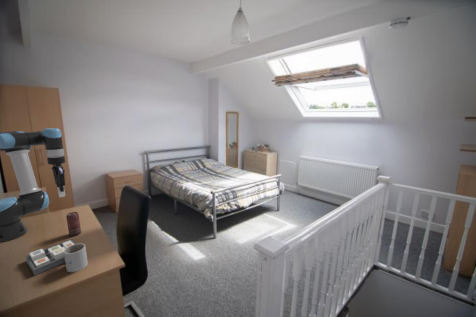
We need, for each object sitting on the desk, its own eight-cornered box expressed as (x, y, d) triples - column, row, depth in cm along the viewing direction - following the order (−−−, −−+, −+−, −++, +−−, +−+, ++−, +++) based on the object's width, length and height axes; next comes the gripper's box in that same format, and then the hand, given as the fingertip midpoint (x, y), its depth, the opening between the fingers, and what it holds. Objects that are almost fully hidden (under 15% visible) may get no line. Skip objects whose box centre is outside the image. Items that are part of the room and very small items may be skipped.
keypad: (26, 261, 113) (24, 255, 112) (72, 243, 129) (71, 238, 128) (34, 275, 103) (33, 269, 102) (83, 254, 119) (82, 249, 118)
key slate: (30, 258, 112) (29, 252, 112) (43, 253, 116) (42, 248, 116) (32, 261, 109) (31, 256, 109) (45, 256, 113) (44, 251, 113)
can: (75, 237, 135) (72, 216, 132) (66, 236, 137) (63, 215, 134) (83, 232, 141) (81, 212, 138) (75, 231, 142) (72, 211, 140)
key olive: (48, 253, 118) (47, 248, 118) (60, 249, 122) (59, 244, 122) (51, 257, 115) (50, 252, 115) (63, 252, 119) (62, 247, 119)
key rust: (34, 266, 108) (33, 261, 108) (47, 261, 112) (46, 255, 112) (37, 270, 106) (36, 265, 105) (50, 265, 110) (49, 259, 109)
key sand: (52, 256, 114) (51, 251, 113) (64, 251, 118) (63, 246, 117) (55, 260, 111) (54, 254, 110) (67, 255, 115) (66, 250, 114)
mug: (89, 265, 110) (87, 248, 108) (69, 274, 104) (65, 256, 102) (83, 255, 118) (80, 238, 116) (63, 263, 112) (60, 245, 110)
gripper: (43, 156, 122) (50, 195, 126) (50, 159, 114) (57, 201, 119) (60, 154, 128) (66, 192, 132) (68, 156, 120) (74, 197, 125)
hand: (62, 196), depth 126 cm, fingers closed
